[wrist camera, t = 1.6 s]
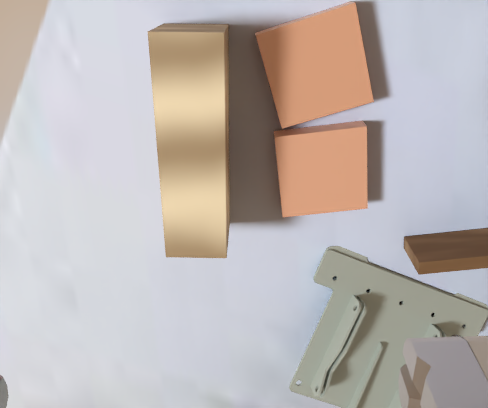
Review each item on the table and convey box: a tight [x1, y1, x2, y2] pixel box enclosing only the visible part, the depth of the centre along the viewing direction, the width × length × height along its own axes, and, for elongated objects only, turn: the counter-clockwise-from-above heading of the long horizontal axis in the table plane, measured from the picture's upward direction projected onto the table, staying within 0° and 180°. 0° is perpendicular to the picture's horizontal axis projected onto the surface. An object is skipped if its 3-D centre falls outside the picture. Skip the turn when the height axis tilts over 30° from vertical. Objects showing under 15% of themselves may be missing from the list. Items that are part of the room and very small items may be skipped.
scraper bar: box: [148, 24, 230, 258], centre depth 29 cm, size 14×4×5 cm, turn 179°
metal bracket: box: [289, 246, 488, 408], centre depth 38 cm, size 14×6×15 cm
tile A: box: [274, 121, 367, 217], centre depth 32 cm, size 6×6×2 cm
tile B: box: [255, 2, 374, 129], centre depth 29 cm, size 6×6×2 cm
